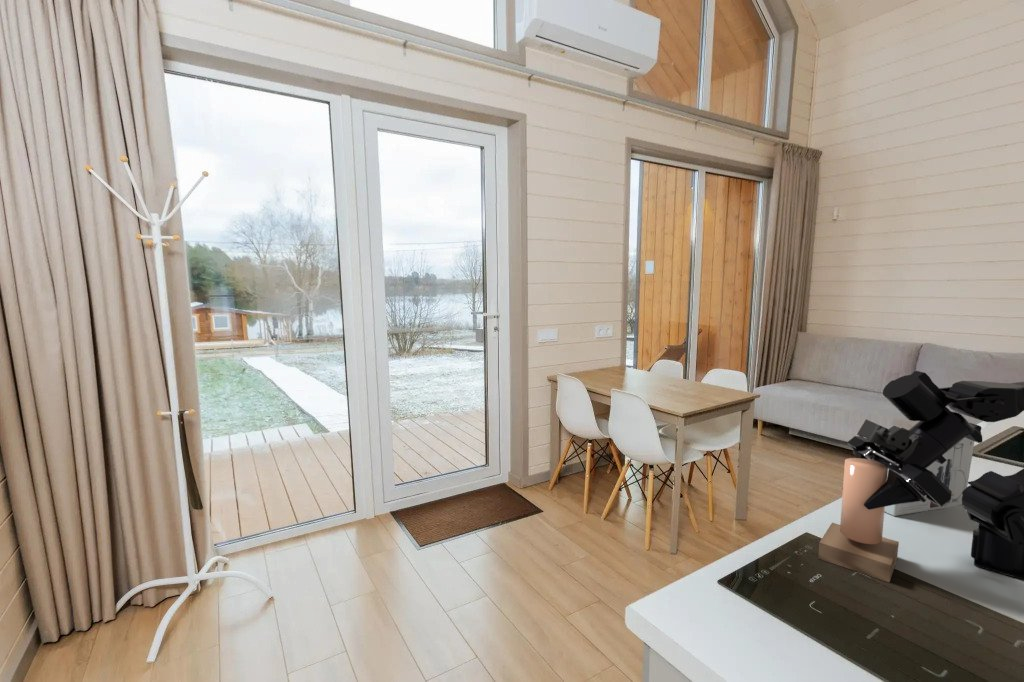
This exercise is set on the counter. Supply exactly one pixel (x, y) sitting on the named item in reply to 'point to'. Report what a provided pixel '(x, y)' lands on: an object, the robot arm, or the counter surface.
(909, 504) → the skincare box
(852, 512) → the canister
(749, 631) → the counter surface
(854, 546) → the podium
